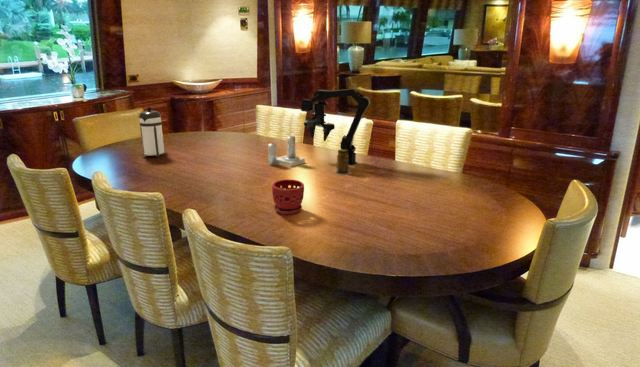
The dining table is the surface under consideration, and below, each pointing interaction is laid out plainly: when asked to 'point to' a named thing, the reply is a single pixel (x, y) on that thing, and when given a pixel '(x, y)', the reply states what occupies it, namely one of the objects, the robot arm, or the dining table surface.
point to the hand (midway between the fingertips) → (318, 139)
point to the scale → (290, 161)
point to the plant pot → (288, 196)
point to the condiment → (342, 162)
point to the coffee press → (151, 133)
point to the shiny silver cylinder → (291, 147)
